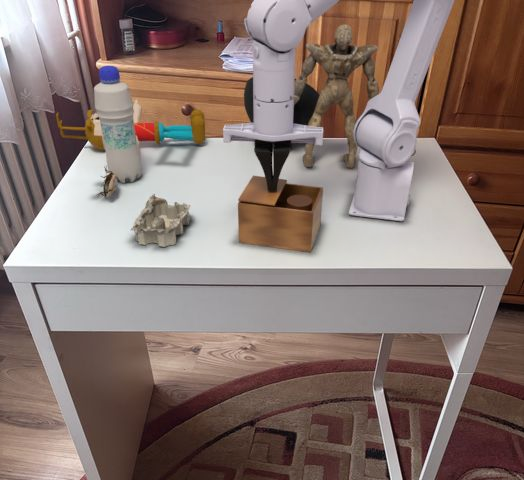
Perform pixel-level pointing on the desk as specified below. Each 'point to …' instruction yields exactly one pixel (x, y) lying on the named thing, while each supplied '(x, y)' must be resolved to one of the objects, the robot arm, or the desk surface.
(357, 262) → the desk surface
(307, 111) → the bowl
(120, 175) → the bottle
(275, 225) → the brown box
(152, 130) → the toy
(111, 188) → the insect
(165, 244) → the egg carton
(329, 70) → the figurine
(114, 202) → the desk surface
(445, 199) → the desk surface
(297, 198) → the brown cylinder
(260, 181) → the flap
